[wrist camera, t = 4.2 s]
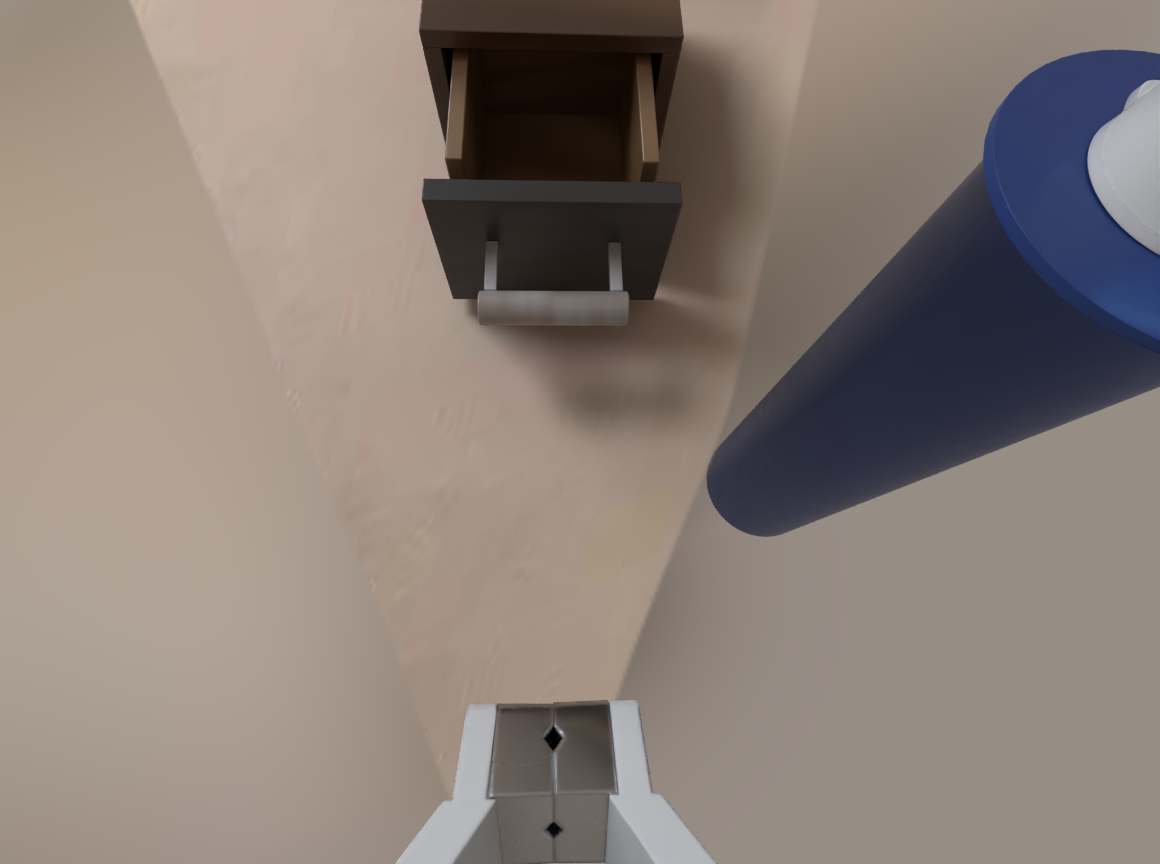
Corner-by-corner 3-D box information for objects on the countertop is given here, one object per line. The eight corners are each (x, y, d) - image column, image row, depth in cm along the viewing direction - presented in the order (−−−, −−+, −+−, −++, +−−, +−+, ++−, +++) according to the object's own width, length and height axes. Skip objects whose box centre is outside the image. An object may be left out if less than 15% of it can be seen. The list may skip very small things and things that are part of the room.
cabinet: (651, 186, 36) (684, 36, 27) (454, 183, 36) (418, 29, 26) (639, 26, 41) (663, -148, 32) (465, 22, 40) (438, -157, 31)
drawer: (658, 368, 31) (690, 288, 23) (448, 368, 30) (413, 286, 23) (640, 122, 37) (662, -5, 29) (464, 119, 36) (440, -12, 29)
